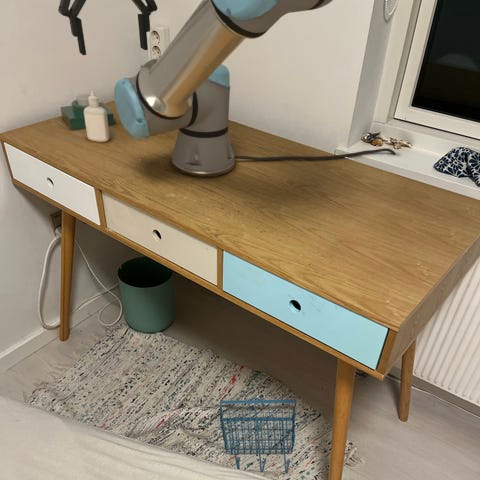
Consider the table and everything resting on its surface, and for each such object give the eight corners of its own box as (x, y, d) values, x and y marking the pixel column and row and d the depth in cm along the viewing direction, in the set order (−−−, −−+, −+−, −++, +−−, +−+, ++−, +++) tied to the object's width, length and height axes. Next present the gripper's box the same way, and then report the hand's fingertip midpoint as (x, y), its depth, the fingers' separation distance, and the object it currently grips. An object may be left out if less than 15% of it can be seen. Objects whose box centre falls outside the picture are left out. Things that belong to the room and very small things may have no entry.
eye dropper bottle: (98, 144, 130) (92, 96, 122) (85, 138, 132) (77, 90, 124) (112, 140, 132) (106, 92, 124) (98, 134, 135) (92, 86, 127)
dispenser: (103, 112, 147) (101, 94, 144) (114, 124, 141) (112, 106, 138) (62, 117, 143) (59, 99, 139) (71, 130, 136) (67, 111, 133)
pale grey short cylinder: (91, 101, 141) (90, 93, 140) (95, 106, 138) (94, 98, 137) (75, 102, 139) (74, 95, 138) (79, 107, 136) (78, 100, 135)
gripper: (154, -73, 103) (162, 43, 117) (27, -75, 94) (51, 52, 107) (168, -71, 98) (174, 50, 111) (35, -73, 88) (59, 60, 102)
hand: (114, 51), depth 109 cm, fingers open, 13 cm apart
